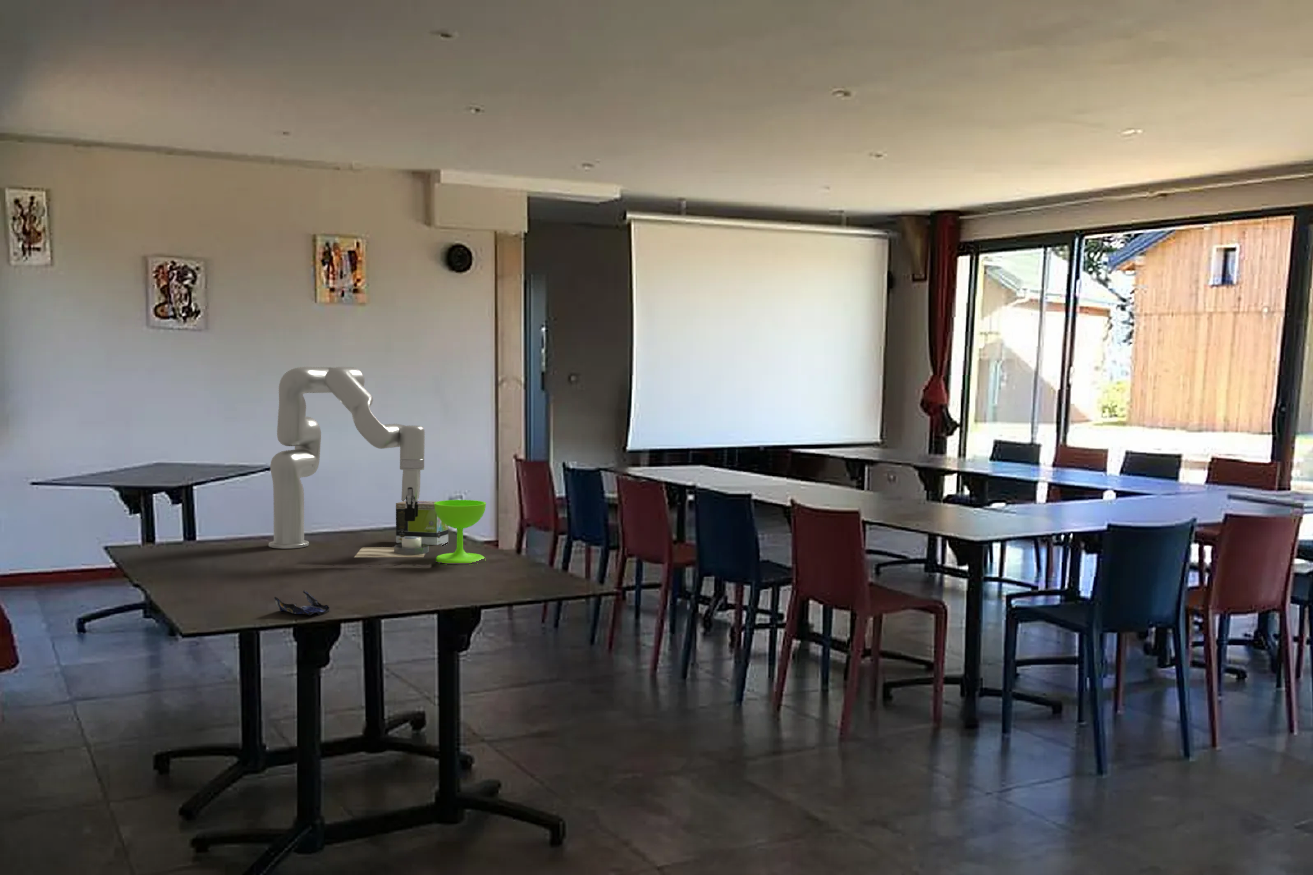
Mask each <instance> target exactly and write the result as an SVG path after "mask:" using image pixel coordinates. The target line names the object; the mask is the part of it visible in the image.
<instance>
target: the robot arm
mask: <svg viewBox="0 0 1313 875" xmlns="http://www.w3.org/2000/svg"><path fill="white" fill-rule="evenodd" d="M364 386H365V377H364V374H363V373H362V371H361V370H360V369H359V368H357V367H353V366H336V367H334V366H333V367H331V366H330V367H327V366H326V367H324V366H323V367H322V366H300V367H299V366H298V367H294V368H291V369H289V370H287V371H286V372H285V373H284V374H283V375H282V376H281V378H280V381H279V384H278V412H277V414H278V415H277V427H276V436H277V440H278V443H280V444H281V446H286V447H294V449H288V450H283V451H278V452H277V453H276V454H275V455H274V456H273V457H272V458H271V460H270V464H269V465H270V468H269V469H270V474H271V479H272V488H273V489H272V490H273V541H269V543H268V547H269V548H273V549H299V548H300V549H301V548H304V547H308V546H309V545H310V542H309V540H305V492H304V487H303V483H302V480H301V478H307V477H310V476H313V475H314V474H315V473H316V472H317V470H318V468H319V466H320V457H321V456H320V455H321V444H322V443H321V441H322V432H321V427H320V424H319V423H318V421H317V420H316V419H315V418H313V417H311V416H306V411H307V403H306V399H305V396H304V394H318V393H319V394H320V393H321V394H323V393H327V394H328V393H329V394H330V393H331V394H333V395H334V397H335V398H337V399H338V401H339V402H340V403H341V404H342V405H343V406H344V407H345V409H347V410H348V411H349V413H350V414H351V416H352V420H353V423H354V426H355V428H356V430H357V431H358V433H359V434H360V435H361V436H362V438H364V439H365V440H366V441H367V443H369V444H370V445H371V446H373V447H374V448H377V449H389V448H390V449H392V448H393V449H394V448H399V470H401V471H402V478H401V502H403V501H406V504H405V521H415V517H418V501H419V498H420V495H421V493H420V492H421V471H423V470H425V439H426V438H425V435H426V434H425V433H426V432H425V428H424V427H423V426H420V425H404V424H399V423H386V424H382V422H381V421H380V420H379V419H377V417H376V416H375V415H374V413H373V412H372V411H371V409H370V408H371V406H372V404H373V401H374V398H373V395H372V394H371V393H370V392H369V391H368V390H367V389H366V388H365V387H364Z"/></svg>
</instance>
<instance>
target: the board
mask: <svg viewBox="0 0 1313 875" xmlns="http://www.w3.org/2000/svg"><path fill="white" fill-rule="evenodd" d="M425 555H426V553H425V554H419V555H401V554H396V553H394V546H392V547H387V546H386V547H385V546H384V547H383V546H381V547H379V546H378V547H377V546H375V547H372V546H371V547H369V546H368V547H367V546H366V547H361V548H360V549H359V551H358V552H357V553H356V554H355V555H354V558H424V557H425Z"/></svg>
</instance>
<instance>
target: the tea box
mask: <svg viewBox="0 0 1313 875" xmlns="http://www.w3.org/2000/svg"><path fill="white" fill-rule="evenodd" d="M438 501H439V500H438ZM438 501H437V500H418V517H415V521H405V504H406V500H404V501H400V502H396V503H395V543H397V544H402V538H403V537H409V536H415V537H421V544H427V545H429V546H438V545H440V544H441V546H442V545H443V544H445V543H447V542H448V543H449V526H447V525H446V524H444V523H443V522H442V521H441V520H440V519H439V517H438V516H437V514H436V511H435V507H434V502H438Z"/></svg>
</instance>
